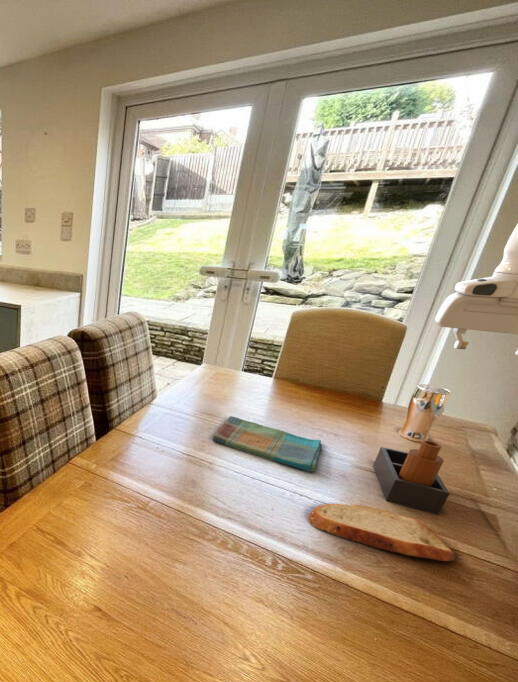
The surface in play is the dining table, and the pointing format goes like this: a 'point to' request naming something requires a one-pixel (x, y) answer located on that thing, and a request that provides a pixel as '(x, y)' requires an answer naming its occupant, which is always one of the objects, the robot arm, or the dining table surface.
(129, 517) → the dining table surface
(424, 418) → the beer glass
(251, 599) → the dining table surface
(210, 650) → the dining table surface
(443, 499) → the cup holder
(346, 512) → the bread slice
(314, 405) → the dining table surface
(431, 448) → the spice bottle
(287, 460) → the dish towel
